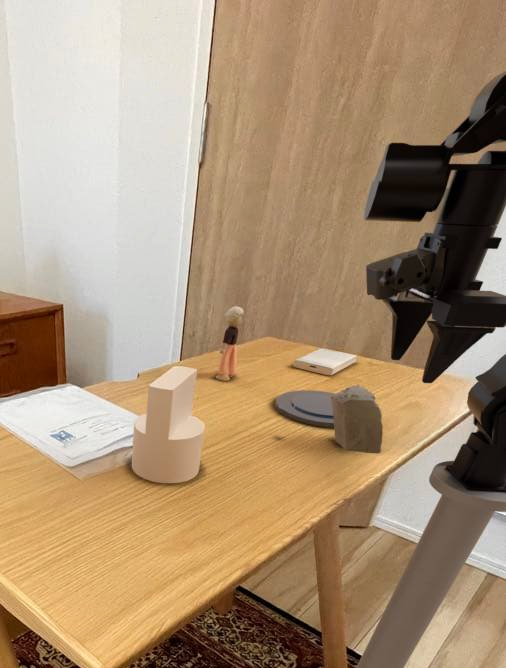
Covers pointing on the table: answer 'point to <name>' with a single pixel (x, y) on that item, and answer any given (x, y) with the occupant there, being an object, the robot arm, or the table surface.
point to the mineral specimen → (357, 420)
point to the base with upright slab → (169, 430)
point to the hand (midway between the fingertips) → (410, 370)
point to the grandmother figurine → (230, 344)
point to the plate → (307, 407)
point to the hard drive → (325, 361)
